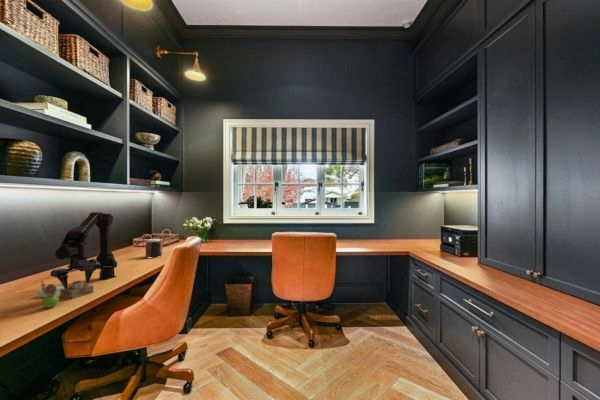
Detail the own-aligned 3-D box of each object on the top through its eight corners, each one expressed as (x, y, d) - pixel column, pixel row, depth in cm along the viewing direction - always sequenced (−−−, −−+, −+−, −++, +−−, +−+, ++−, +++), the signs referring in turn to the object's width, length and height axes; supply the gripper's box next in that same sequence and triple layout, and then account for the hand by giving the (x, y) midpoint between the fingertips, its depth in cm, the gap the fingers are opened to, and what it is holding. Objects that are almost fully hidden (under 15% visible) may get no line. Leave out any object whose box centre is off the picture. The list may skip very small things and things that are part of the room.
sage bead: (51, 292, 128) (51, 286, 128) (65, 291, 128) (65, 286, 128) (37, 297, 121) (37, 291, 121) (52, 297, 121) (52, 291, 121)
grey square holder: (81, 290, 131) (81, 283, 131) (93, 292, 128) (93, 285, 128) (59, 296, 122) (60, 289, 122) (72, 299, 119) (72, 291, 119)
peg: (79, 292, 127) (79, 280, 127) (83, 293, 126) (83, 281, 126) (71, 295, 124) (71, 282, 124) (75, 296, 123) (75, 283, 123)
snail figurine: (47, 305, 112) (47, 278, 112) (62, 304, 112) (62, 278, 113) (35, 310, 107) (35, 282, 107) (51, 309, 107) (51, 282, 107)
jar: (153, 259, 201) (153, 240, 201) (142, 258, 204) (142, 240, 204) (165, 256, 212) (165, 238, 212) (154, 255, 216) (154, 238, 216)
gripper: (64, 260, 113) (65, 294, 113) (107, 252, 131) (107, 281, 131) (49, 258, 117) (49, 291, 117) (93, 250, 135) (93, 279, 135)
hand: (77, 285), depth 125 cm, fingers open, 9 cm apart
